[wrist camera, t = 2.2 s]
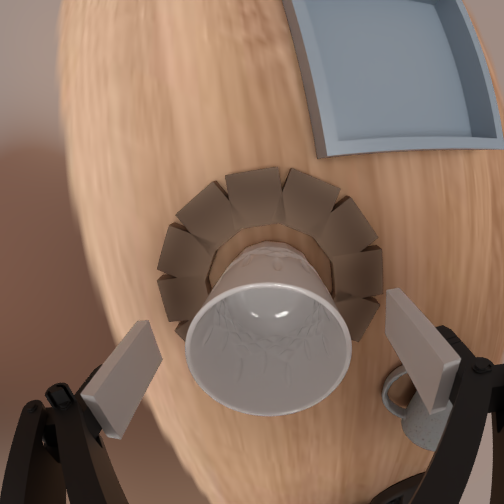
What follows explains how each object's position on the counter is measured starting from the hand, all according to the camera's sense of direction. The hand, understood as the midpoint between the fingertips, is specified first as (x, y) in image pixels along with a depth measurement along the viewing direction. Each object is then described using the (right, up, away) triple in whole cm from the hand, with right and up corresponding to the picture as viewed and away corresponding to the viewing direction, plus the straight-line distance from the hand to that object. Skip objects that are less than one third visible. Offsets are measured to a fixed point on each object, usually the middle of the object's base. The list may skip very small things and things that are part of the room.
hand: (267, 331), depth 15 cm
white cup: (+1, +2, +8) cm, 8 cm away
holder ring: (+1, +2, +7) cm, 8 cm away
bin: (+10, +19, +2) cm, 21 cm away
